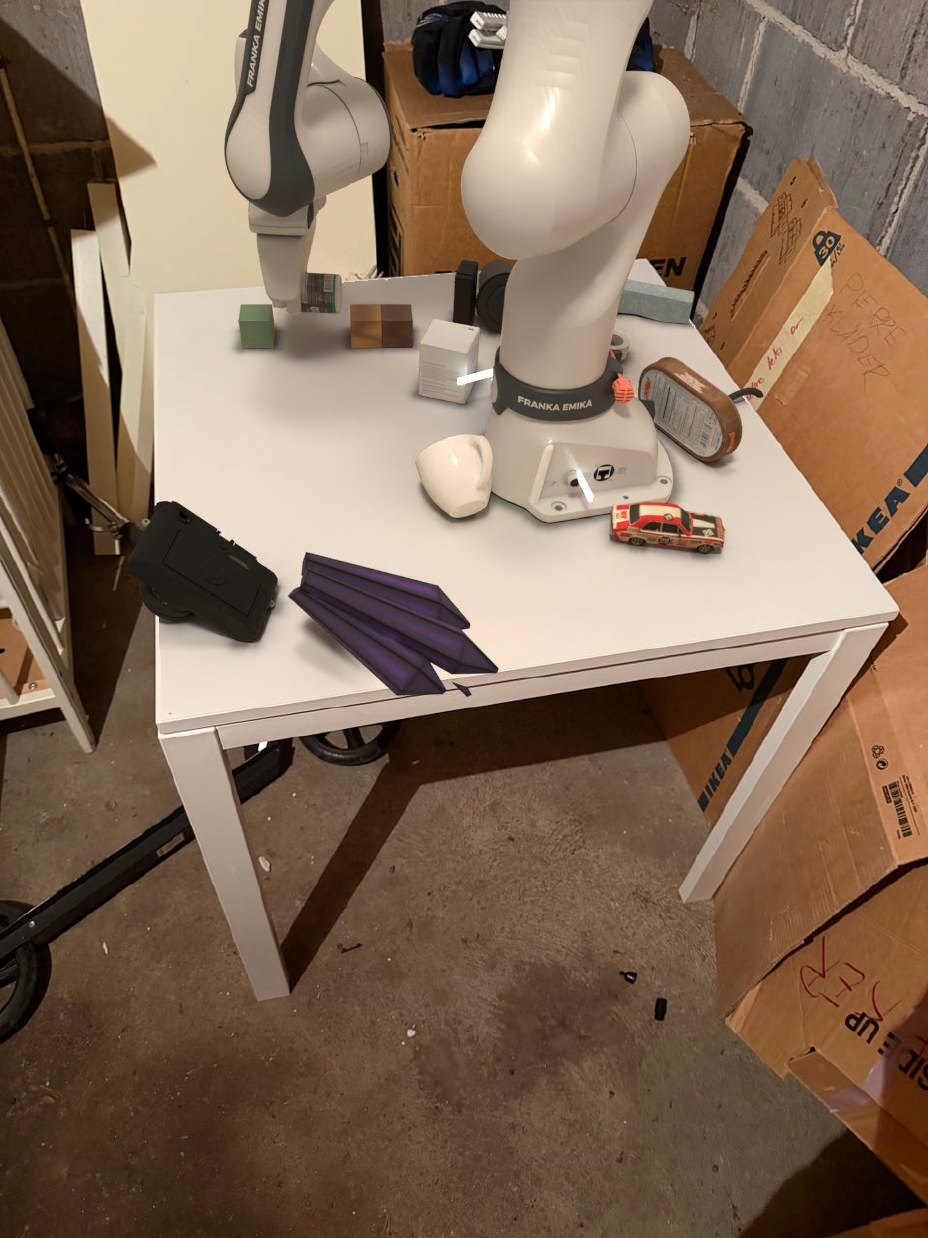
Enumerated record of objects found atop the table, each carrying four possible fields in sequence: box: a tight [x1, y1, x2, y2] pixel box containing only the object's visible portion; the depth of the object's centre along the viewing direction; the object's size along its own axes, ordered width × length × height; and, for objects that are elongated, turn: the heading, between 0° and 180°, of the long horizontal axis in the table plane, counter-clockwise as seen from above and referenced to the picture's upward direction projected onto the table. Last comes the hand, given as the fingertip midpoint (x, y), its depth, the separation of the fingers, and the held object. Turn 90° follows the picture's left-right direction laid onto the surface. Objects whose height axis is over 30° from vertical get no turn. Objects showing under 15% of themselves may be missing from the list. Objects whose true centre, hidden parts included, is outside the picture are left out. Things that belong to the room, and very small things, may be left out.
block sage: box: [238, 303, 276, 349], centre depth 114 cm, size 4×4×4 cm
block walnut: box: [380, 303, 414, 349], centre depth 116 cm, size 4×4×4 cm
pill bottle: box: [271, 272, 344, 315], centre depth 111 cm, size 5×5×8 cm
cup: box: [414, 433, 493, 519], centre depth 93 cm, size 8×10×7 cm
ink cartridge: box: [452, 259, 479, 326], centre depth 118 cm, size 5×2×8 cm, turn 168°
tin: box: [637, 356, 743, 462], centre depth 103 cm, size 15×3×8 cm, turn 34°
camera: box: [126, 500, 279, 642], centre depth 82 cm, size 14×7×8 cm
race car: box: [610, 502, 726, 555], centre depth 93 cm, size 5×12×5 cm, turn 79°
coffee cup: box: [475, 259, 514, 333], centre depth 120 cm, size 8×8×10 cm
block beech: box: [349, 303, 382, 349], centre depth 116 cm, size 4×4×4 cm
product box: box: [418, 318, 481, 405], centre depth 108 cm, size 6×6×7 cm
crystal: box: [287, 551, 500, 698], centre depth 80 cm, size 7×12×20 cm
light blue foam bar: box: [617, 278, 696, 325], centre depth 126 cm, size 23×7×3 cm
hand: (297, 297), depth 112 cm, fingers closed on pill bottle, 5 cm apart
